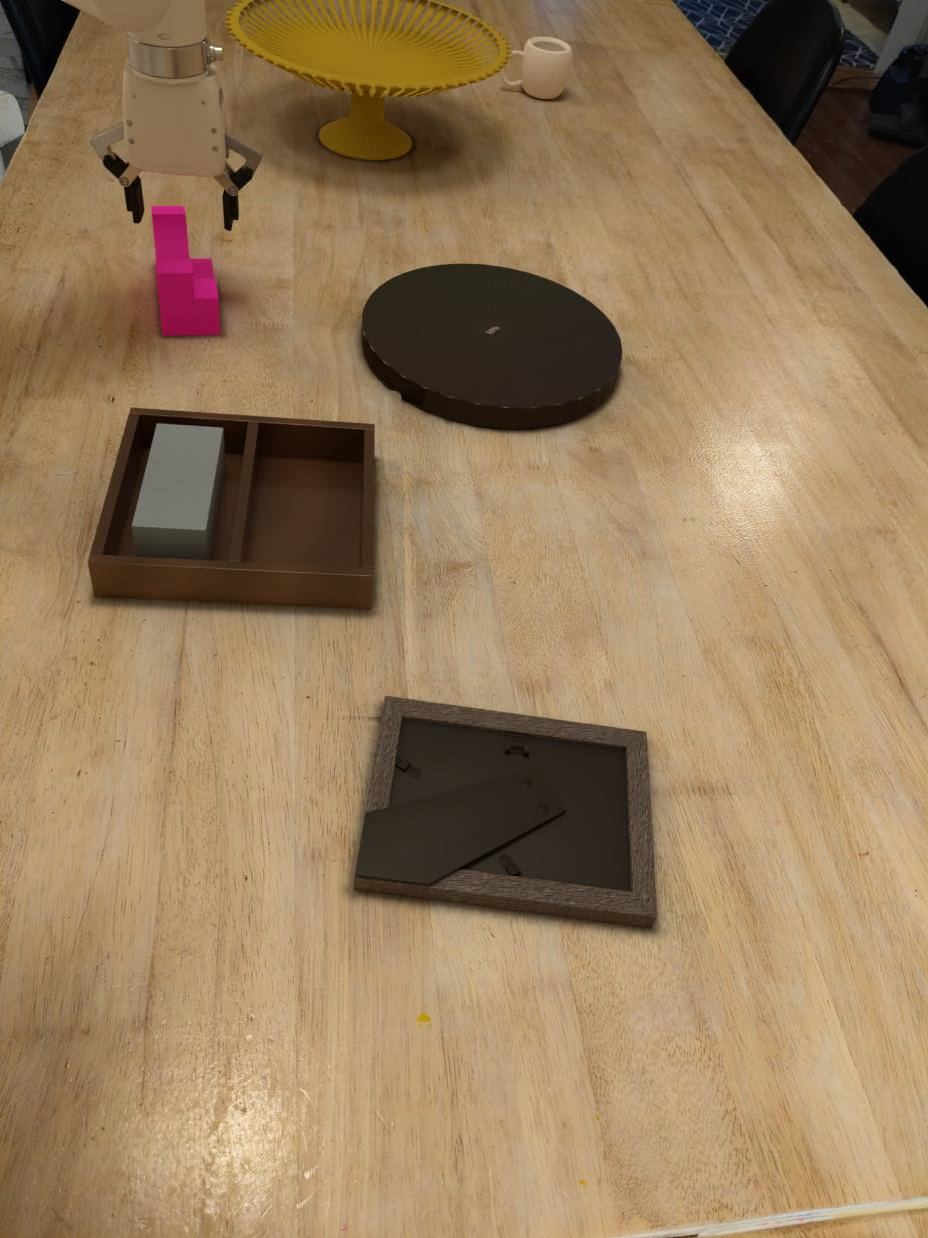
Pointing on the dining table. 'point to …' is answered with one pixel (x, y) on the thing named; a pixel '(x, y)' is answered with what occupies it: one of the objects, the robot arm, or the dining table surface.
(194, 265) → the toy block
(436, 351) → the disc
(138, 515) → the gray rectangular block
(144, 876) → the dining table surface
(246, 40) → the yellow pedestal bowl
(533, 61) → the mug
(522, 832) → the picture frame
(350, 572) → the divided tray
